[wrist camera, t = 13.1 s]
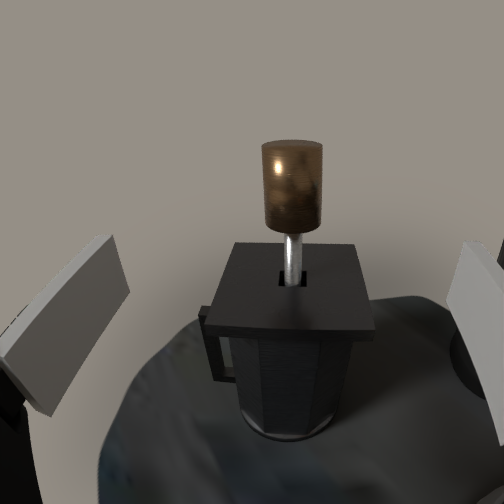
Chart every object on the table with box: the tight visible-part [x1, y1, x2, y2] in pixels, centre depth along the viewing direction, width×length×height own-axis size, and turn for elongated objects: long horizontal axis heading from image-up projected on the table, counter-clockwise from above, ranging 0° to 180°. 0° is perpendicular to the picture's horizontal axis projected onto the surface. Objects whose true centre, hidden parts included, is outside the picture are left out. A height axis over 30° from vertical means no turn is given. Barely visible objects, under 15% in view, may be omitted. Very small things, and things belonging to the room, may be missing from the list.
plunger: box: [262, 140, 322, 287], centre depth 23 cm, size 7×7×22 cm
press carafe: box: [198, 242, 376, 442], centre depth 27 cm, size 13×10×16 cm
